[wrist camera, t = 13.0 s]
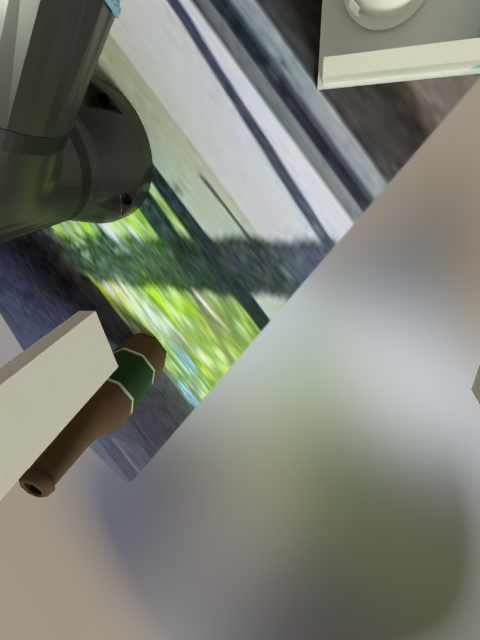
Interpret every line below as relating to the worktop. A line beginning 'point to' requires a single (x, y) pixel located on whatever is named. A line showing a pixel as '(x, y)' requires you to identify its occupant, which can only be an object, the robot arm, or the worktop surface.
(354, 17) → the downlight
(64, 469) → the beer bottle
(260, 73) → the worktop surface
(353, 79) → the holder
